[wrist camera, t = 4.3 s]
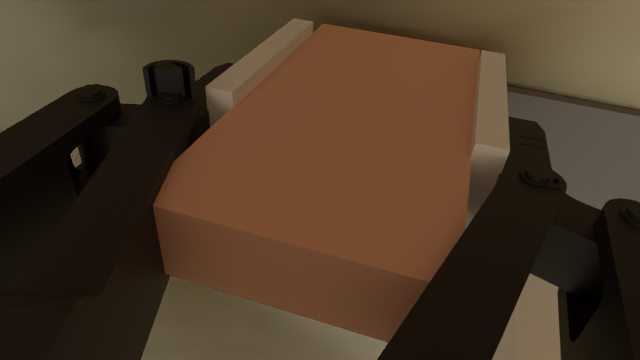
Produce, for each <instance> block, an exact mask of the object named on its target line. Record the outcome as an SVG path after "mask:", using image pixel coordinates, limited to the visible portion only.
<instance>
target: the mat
mask: <svg viewBox="0 0 640 360" xmlns="http://www.w3.org/2000/svg"><path fill="white" fill-rule="evenodd" d="M507 101H508V116H509V117H515V118H520V119H525V120H530V121H535V122H537V123H538V124H539V126H540V127H541V128H542V129H543V130H544V131H545V134H546V140H547V142H546V143H547V145H548V151H549V156H550V161H551V167H552V170H554V171H555V172H556V173H558V174H559V175H560V176H562V177H563V179H564V180H565V182H566V183H567V190H566V192H565V193H566V194H568V195H569V196H571V197H572V198H574V199H576V200H578V201H580V202H582V203H585V204H587V205H590V206H592V207H595V208H597V209H600V210H602V208H603V206H604V204H605V203H606V202H607V201H609V200H611V199H617V198H624V199H630V200H635V201H638V202H640V110H634V109H629V108H624V107H619V106H613V105H608V104H603V103H597V102H592V101H587V100H581V99H576V98H571V97H565V96H560V95H555V94H549V93H544V92H539V91H533V90H528V89H523V88H517V87H512V86H507Z"/></svg>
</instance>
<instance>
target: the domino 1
mask: <svg viewBox="0 0 640 360" xmlns="http://www.w3.org/2000/svg"><path fill="white" fill-rule="evenodd" d="M479 59H480V50H478V49H472V48H466V47H460V46H454V45H448V44H442V43H436V42H430V41H424V40H419V39H413V38H407V37H401V36H395V35H389V34H383V33H377V32H371V31H365V30H359V29H353V28H347V27H342V26H336V25H330V24H324V23H323V24H322V25H321V26H320V27H319V28H318V29H317V30H316V31H314V32H313V34H312V35H311V36H310V37H309V38H308V39H307V40H306V41H304V42H303V43H302V44H301V45H300V46H299V47H298V48H297V49H296V50H295V51H294V52H293V53H292V54H291V55H289V56H288V57H287V58H286V59H285V60H284V61H283V62H282V63H281V64H280V65H279V66H278V67H277V68H275V69H274V70H273V71H272V72H271V73H270V74H269V75H268V76H267V77H266V78H265V79H264V80H263V81H261V82H260V83H259V84H258V85H257V86H256V87H255V88H254V89H253V90H252V91H251V92H250V93H249V94H248V95H246V96H245V97H244V98H243V99H242V100H241V101H240V102H239V103H238V104H237V105H236V106H235V107H234V108H231V109H230V110H229V111H228V112H227V113H226V114H225V115H223V116H222V117H221V118H220V119H219V120H218V121H217V122H216V123H215V124H214V125H213V126H212V127H210V128H209V129H208V130H207V131H206V132H205V133H204V134H203V135H202V136H201V137H200V138H199V139H197V140H196V141H195V142H194V143H193V144H192V145H191V146H190V147H189V148H188V149H187V150H186V151H184V152H183V153H182V154H181V155H180V156H179V157H178V158H177V159H176V160H175V161H174V162H173V164H172V166H171V168H170V170H169V172H168V174H167V177H166V179H165V181H164V183H163V185H162V187H161V189H160V191H159V194H158V196H157V198H156V200H155V202H154V204H153V210H154V215H155V221H156V226H157V231H158V237H159V242H160V248H161V253H162V259H163V264H164V270H165V274H168V275H172V276H175V277H178V278H181V279H185V280H188V281H191V282H194V283H198V284H201V285H204V286H207V287H210V288H214V289H217V290H220V291H223V292H227V293H230V294H233V295H236V296H240V297H243V298H246V299H249V300H253V301H256V302H259V303H262V304H265V305H269V306H272V307H275V308H278V309H282V310H285V311H288V312H291V313H295V314H298V315H301V316H304V317H307V318H311V319H314V320H317V321H320V322H324V323H327V324H330V325H333V326H337V327H340V328H343V329H346V330H350V331H353V332H356V333H359V334H362V335H366V336H369V337H372V338H375V339H379V340H382V341H385V342H388V343H389V341H390V340H391V338H392V337H393V335H394V334H395V333H396V331H397V330H398V328H399V327H400V325H401V324H402V322H403V321H404V319H405V318H406V316H407V315H408V313H409V312H410V310H411V309H412V307H413V306H414V305H415V303H416V302H417V300H418V299H419V297H420V296H421V294H422V293H423V291H424V290H425V288H426V287H427V285H428V284H429V282H430V281H431V279H432V278H433V277H434V275H435V274H436V272H437V271H438V269H439V268H440V266H441V265H442V263H443V262H444V260H445V259H446V257H447V256H448V254H449V253H450V252H451V250H452V249H453V247H454V246H455V244H456V243H457V241H458V240H459V238H460V237H461V235H462V234H463V232H464V231H465V229H466V219H467V207H468V195H469V182H470V170H471V160H470V154H471V142H472V130H473V119H474V107H475V96H476V84H477V72H478V62H479Z"/></svg>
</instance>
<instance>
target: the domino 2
mask: <svg viewBox="0 0 640 360" xmlns="http://www.w3.org/2000/svg"><path fill="white" fill-rule="evenodd" d="M558 288H559V287H557V286H555V285H553V284H551V283H549V282H547V281H545V280H543V279H540V278H538V277H536V276H534V275H532V274H529V277H528V279H527V281H526V283H525V286H524V288H523V290H522V292H521V295H520V297H519V299H518V302H517V304H516V306H515V308H514V311H513V313H512V315H511V318H510V320H509V322H508V324H507V327H506V329H505V331H504V334H503V360H561V352H560V333H559V314H558V294H557V292H558Z"/></svg>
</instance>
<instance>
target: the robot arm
mask: <svg viewBox="0 0 640 360" xmlns="http://www.w3.org/2000/svg"><path fill="white" fill-rule="evenodd" d="M312 34H313V21H307V20H301V19H295V18H294V19H292V20H291V21H290V22H288V23H287V24H286V25H284V26H283V27H282V28H281V29H279V30H278V31H277V32H275V33H274V34H273V35H271V36H270V37H269V38H268V39H266V40H265V41H264V42H262V43H261V44H260V45H258V46H257V47H256V48H255V49H253V50H252V51H251V52H249V53H248V54H247V55H245V56H244V57H243V58H242V59H240V60H239V61H238V62H236V63H235V64H232V63H227V64H224V65H220V66H217V67H215V68H214V69H212V70H211V71H209V72H208V73H207V75H204V76H203V77H201V78H200V80H197V81H196V82H195V72H194V67H193V66H192V65H191V64H189V63H187V62H184V61H178V60H162V61H156V62H153V63H150V64H147V65H146V66H144V67H143V74H144V80H145V86H146V92H147V98H146V99H145V101H144V102H143V104H142V105H139V104H120V100H119V95H118V91H117V90H116V89H114V88H112V87H109V86H103V85H99V84H93V85H86V86H84V87H80V88H77V89H74V90H72V91H70V92H68V93H66V94H65V95H63V96H61V97H60V98H58V99H56V100H55V101H53V102H51V103H50V104H48V105H46V106H45V107H43V108H41V109H40V110H38V111H36V112H35V113H33V114H31V115H30V116H28V117H26V118H25V119H23V120H21V121H20V122H18V123H16V124H15V125H13V126H11V127H10V128H8V129H6V130H5V131H3V132H1V133H0V360H141V357H142V354H143V351H144V348H145V346H146V343H147V340H148V337H149V334H150V331H151V329H152V326H153V323H154V320H155V317H156V314H157V312H158V309H159V306H160V303H161V300H162V297H163V294H164V292H165V289H166V286H167V283H168V280H169V277H170V275H168V274H165V270H164V264H163V259H162V253H161V248H160V242H159V237H158V231H157V226H156V221H155V215H154V210H153V204H154V202H155V200H156V198H157V196H158V194H159V191H160V189H161V187H162V185H163V183H164V181H165V179H166V177H167V174H168V172H169V170H170V168H171V166H172V164H173V162H174V161H175V160H176V159H177V158H178V157H179V156H180V155H181V154H182V153H183V152H184V151H186V150H187V149H188V148H189V147H190V146H191V145H192V144H193V143H194V142H195V141H196V140H197V139H199V138H200V137H201V136H202V135H203V134H204V133H205V132H206V131H207V130H208V129H209V128H210V127H212V126H213V125H214V124H215V123H216V122H217V121H218V120H219V119H220V118H221V117H222V116H223V115H225V114H226V113H227V112H228V111H229V110H230V109H231V108H234V107H235V106H236V105H237V104H238V103H239V102H240V101H241V100H242V99H243V98H244V97H245V96H246V95H248V94H249V93H250V92H251V91H252V90H253V89H254V88H255V87H256V86H257V85H258V84H259V83H260V82H261V81H263V80H264V79H265V78H266V77H267V76H268V75H269V74H270V73H271V72H272V71H273V70H274V69H275V68H277V67H278V66H279V65H280V64H281V63H282V62H283V61H284V60H285V59H286V58H287V57H288V56H289V55H291V54H292V53H293V52H294V51H295V50H296V49H297V48H298V47H299V46H300V45H301V44H302V43H303V42H304V41H306V40H307V39H308V38H309V37H310V36H311V35H312ZM546 142H547V140H546V134H545V131H544V130H543V129H542V128H541V127H540V126H539V124H538V123H537V122H535V121H530V120H525V119H520V118H515V117H509V116H508V101H507V81H506V61H505V54H503V53H497V52H491V51H485V50H482V52H481V55H480V59H479V62H478V72H477V84H476V96H475V107H474V119H473V130H472V142H471V154H470V160H471V170H470V182H469V195H468V207H467V219H466V229H465V231H464V232H463V234H462V235H461V237H460V238H459V240H458V241H457V243H456V244H455V246H454V247H453V249H452V250H451V252H450V253H449V254H448V256H447V257H446V259H445V260H444V262H443V263H442V265H441V266H440V268H439V269H438V271H437V272H436V274H435V275H434V277H433V278H432V279H431V281H430V282H429V284H428V285H427V287H426V288H425V290H424V291H423V293H422V294H421V296H420V297H419V299H418V300H417V302H416V303H415V305H414V306H413V307H412V309H411V310H410V312H409V313H408V315H407V316H406V318H405V319H404V321H403V322H402V324H401V325H400V327H399V328H398V330H397V331H396V333H395V334H394V335H393V337H392V338H391V340H390V341H389V343H388V344H387V346H386V347H385V349H384V350H383V352H382V353H381V355H380V356H379V358H378V359H377V360H492V359H493V356H494V354H495V352H496V349H497V347H498V345H499V343H500V340H501V338H502V336H503V334H504V331H505V329H506V327H507V324H508V322H509V320H510V318H511V315H512V313H513V311H514V308H515V306H516V304H517V302H518V299H519V297H520V295H521V292H522V290H523V288H524V286H525V283H526V281H527V279H528V277H529V274H532V275H534V276H536V277H538V278H540V279H543V280H545V281H547V282H549V283H551V284H553V285H555V286H557V287H559V288H558V292H557V294H558V314H559V333H560V352H561V360H640V202H638V201H635V200H630V199H624V198H617V199H611V200H609V201H607V202H606V203H605V204H604V206H603V208H602V210H600V209H597V208H595V207H592V206H590V205H587V204H585V203H582V202H580V201H578V200H576V199H574V198H572V197H571V196H569V195H568V194H566V193H565V192H566V190H567V183H566V182H565V180H564V179H563V177H562V176H560V175H559V174H558V173H556V172H555V171H554V170H552V167H551V161H550V156H549V151H548V145H547V143H546ZM76 147H78V150H79V153H80V157H81V161H82V163H81V164H80V165H79V166H77V167H74V165H73V163H72V159H71V156H70V154H71V153H72V151H73V150H74V149H75V148H76Z"/></svg>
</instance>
